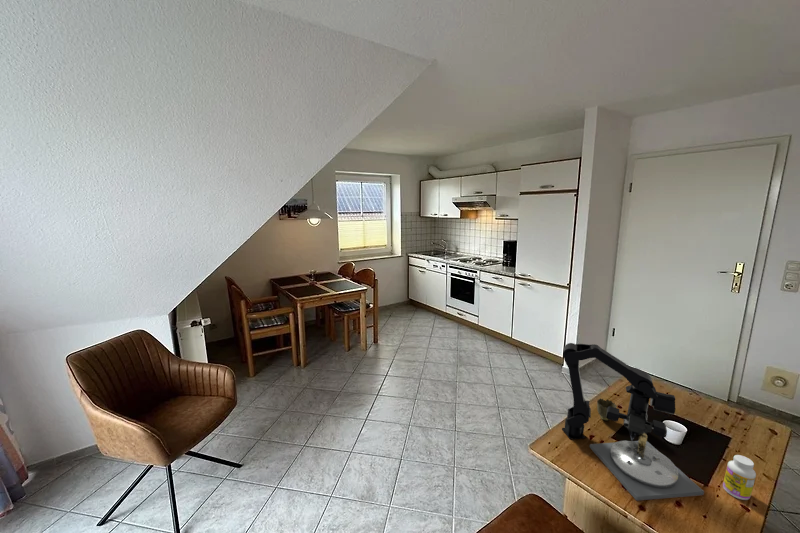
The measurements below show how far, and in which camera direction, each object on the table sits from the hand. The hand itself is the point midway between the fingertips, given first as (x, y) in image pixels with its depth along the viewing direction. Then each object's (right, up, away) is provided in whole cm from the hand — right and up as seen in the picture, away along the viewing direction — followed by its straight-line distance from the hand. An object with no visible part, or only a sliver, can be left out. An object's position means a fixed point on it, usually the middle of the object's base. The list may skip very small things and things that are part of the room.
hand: (631, 439), depth 130 cm
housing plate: (-2, -7, -8) cm, 10 cm away
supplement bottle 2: (+23, -9, -17) cm, 30 cm away
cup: (+2, -1, +20) cm, 20 cm away
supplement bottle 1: (+10, -3, +13) cm, 17 cm away
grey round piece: (-2, -5, -8) cm, 10 cm away
